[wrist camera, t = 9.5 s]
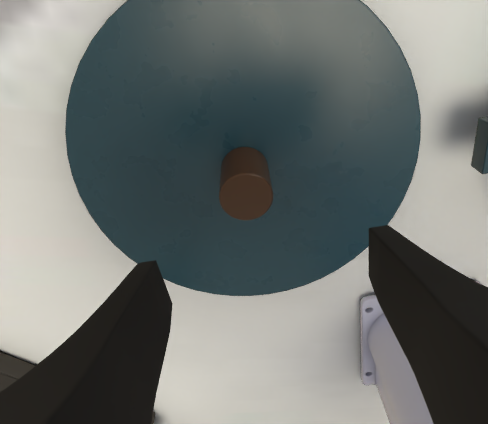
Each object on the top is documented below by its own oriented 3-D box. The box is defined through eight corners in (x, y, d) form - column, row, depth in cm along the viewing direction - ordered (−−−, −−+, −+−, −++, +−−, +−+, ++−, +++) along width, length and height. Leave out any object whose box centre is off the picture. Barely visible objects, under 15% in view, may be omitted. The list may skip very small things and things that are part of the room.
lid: (403, 263, 24) (434, 312, 20) (137, 301, 25) (120, 355, 21) (425, -81, 15) (488, -105, 11) (7, 6, 16) (-62, 10, 12)
